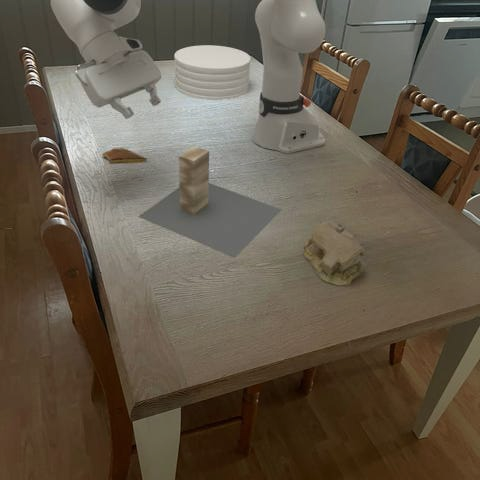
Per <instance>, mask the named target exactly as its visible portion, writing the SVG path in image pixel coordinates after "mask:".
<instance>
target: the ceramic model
mask: <svg viewBox="0 0 480 480" xmlns="http://www.w3.org/2000/svg"><path fill="white" fill-rule="evenodd" d="M303 246H304V247H303V248H304V250H303V256H304V258H305V259H306V260H307V261H308V262H309V263H310V264H311V265H312V267H313V269H314V270H315V272H316V275H317V276H319V278H320V279H322V280H323V281H324V282H327V283H330V284H333V285H336V286H342V287H343V286H349V285H351V283H352V281H353V280H355V278H357V277H359V276H361V274H362V273H363V271H364V262H363V260H362V259H361V258H362V257H365V256H366V252H365V250H364V248H363V247H362V245H360V243H359V242H358V240H357V239H356V238H355V236H354V235H353V234H352V233H350V232H349V231H347V230H345V225H344V224H342V223H338V224H337V223H335V222H334V221H333V220H331V219H329V220H324V222H321V223H320V224H318V226H317V227H316V228H315V229H314V230H313V232H312V233H311V237H310V238H308V239H306V240H305V243H304V245H303Z"/></svg>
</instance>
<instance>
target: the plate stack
mask: <svg viewBox="0 0 480 480" xmlns="http://www.w3.org/2000/svg"><path fill="white" fill-rule="evenodd" d="M250 70H251V56H250V55H249V54H248V53H247V52H245V51H243V50H240V49H237V48H234V47H229V46H223V45H212V44H211V45H208V44H205V45H203V44H202V45H193V46H192V45H191V46H187V47H184V48H181V49H179V50H177V51H176V52H175V53H174V74H175V75H174V81H175V83H174V86H175V89H176V90H177V91H178V92H179V93H181V95H184V96H187V97H190V98H193V99H194V98H195V99H199V100H204V99H206V100H207V101H224V100H223V99H227V100H232V99H231V98H233V99H237V98H240V97H242V96H244V95H246V94H247V93H248V92H249V84H250ZM246 92H247V93H246ZM245 93H246V94H245ZM241 95H242V96H241ZM239 96H240V97H239ZM236 97H237V98H236Z"/></svg>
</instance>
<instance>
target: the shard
mask: <svg viewBox="0 0 480 480" xmlns="http://www.w3.org/2000/svg"><path fill="white" fill-rule="evenodd" d="M102 156H103V157H104V158H106V159H108V161H109V164H116V163H128V164H129V163H146V161H147V160H148V158H146V157H144V156H141V155H139V154H137V153H136V152H135V151H134V152H133V151H131V150H129V149H127V148H123V147H115V148H112V149H110V150H108V151H104V152H103V153H102Z"/></svg>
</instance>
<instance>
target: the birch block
mask: <svg viewBox="0 0 480 480" xmlns="http://www.w3.org/2000/svg"><path fill="white" fill-rule="evenodd" d="M178 173H179V174H178V175H179V179H178V180H179V187H180V209H181V210H184V211H186V212H189V213H191V214H195V213H197V212H198V211H199V210H200V209H202V208H203V207H204V206H205V205H207V204H208V192H209V183H210V182H209V181H210V180H209V179H210V150H208V149H205V148H201V147H198V146H195V145H193V146H192V147H190V148H189V149H188V150H186V151H184V152H182V153H181V154H179V155H178Z"/></svg>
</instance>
